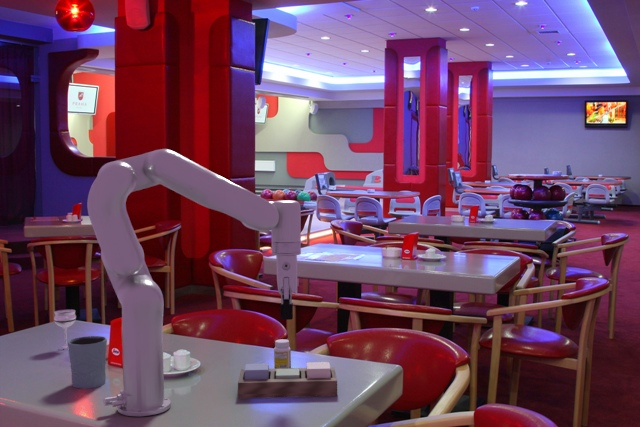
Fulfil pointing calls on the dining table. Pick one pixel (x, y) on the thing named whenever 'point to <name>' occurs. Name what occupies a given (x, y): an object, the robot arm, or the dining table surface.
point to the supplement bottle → (282, 354)
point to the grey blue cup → (88, 361)
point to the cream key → (318, 370)
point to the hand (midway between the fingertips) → (286, 318)
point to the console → (287, 386)
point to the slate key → (257, 371)
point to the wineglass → (65, 320)
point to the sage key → (287, 373)
